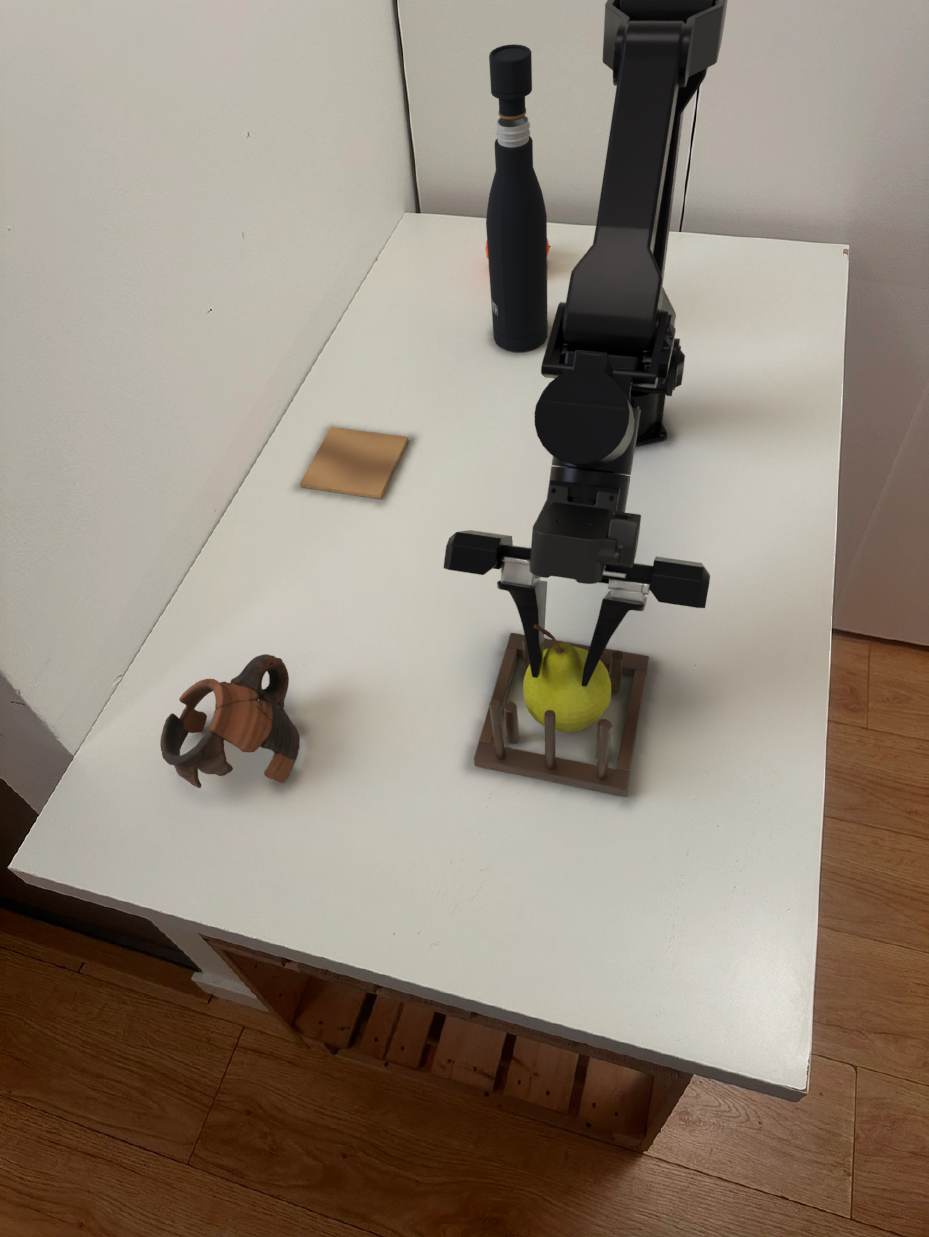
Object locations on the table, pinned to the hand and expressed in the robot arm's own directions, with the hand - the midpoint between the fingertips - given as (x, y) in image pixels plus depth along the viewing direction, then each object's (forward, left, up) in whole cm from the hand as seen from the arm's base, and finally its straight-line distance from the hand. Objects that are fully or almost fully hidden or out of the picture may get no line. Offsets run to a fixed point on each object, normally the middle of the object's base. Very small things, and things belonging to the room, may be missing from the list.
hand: (559, 681), depth 65 cm
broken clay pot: (+25, -5, -7) cm, 27 cm away
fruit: (-1, -1, -7) cm, 7 cm away
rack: (-1, -1, -7) cm, 7 cm away
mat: (+12, -36, -7) cm, 39 cm away
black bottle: (-10, -52, -7) cm, 54 cm away
